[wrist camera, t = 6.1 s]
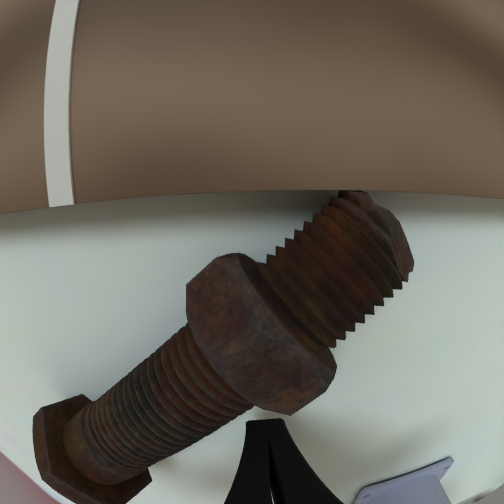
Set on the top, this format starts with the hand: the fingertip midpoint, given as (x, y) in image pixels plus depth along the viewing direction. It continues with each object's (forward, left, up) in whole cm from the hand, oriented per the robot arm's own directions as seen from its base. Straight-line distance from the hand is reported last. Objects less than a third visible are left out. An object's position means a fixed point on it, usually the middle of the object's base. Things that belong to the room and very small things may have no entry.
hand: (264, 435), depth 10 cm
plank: (+14, -1, -2) cm, 14 cm away
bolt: (+3, +2, -2) cm, 4 cm away
